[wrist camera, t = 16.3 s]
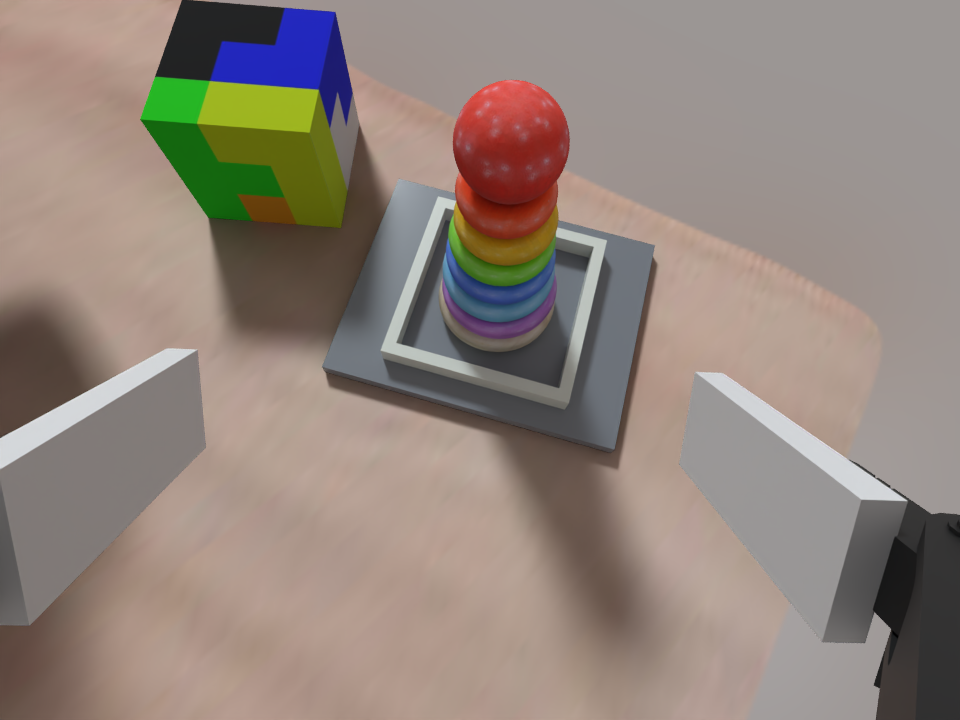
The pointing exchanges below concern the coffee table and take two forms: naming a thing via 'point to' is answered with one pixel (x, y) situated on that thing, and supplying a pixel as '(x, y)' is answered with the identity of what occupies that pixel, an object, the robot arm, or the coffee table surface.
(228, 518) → the coffee table surface
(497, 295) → the stacking toy
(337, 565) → the coffee table surface
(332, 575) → the coffee table surface
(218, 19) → the puzzle toy
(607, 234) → the board
